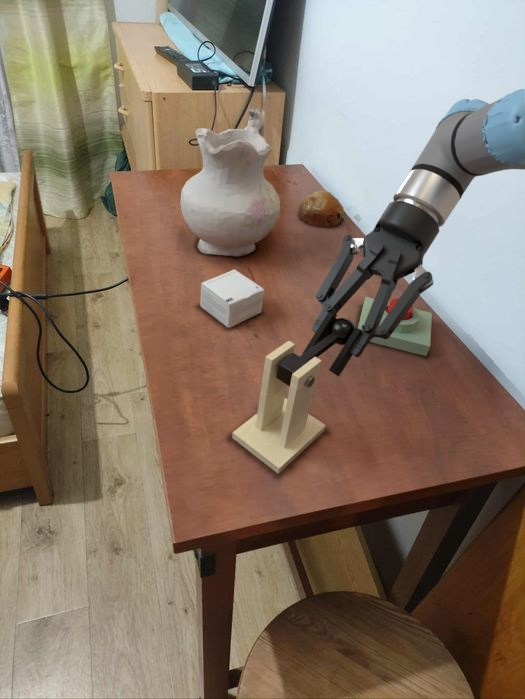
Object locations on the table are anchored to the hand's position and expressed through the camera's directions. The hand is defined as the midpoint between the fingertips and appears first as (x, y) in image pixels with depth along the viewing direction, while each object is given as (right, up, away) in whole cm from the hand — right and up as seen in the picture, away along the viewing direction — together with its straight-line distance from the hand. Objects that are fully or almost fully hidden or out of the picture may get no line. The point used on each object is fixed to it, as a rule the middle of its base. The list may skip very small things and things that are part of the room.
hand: (320, 364), depth 68 cm
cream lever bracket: (-6, -9, +1) cm, 11 cm away
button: (+15, +8, +19) cm, 26 cm away
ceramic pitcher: (-15, +25, +40) cm, 49 cm away
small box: (-13, +9, +21) cm, 27 cm away
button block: (+15, +5, +22) cm, 27 cm away
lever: (-1, +1, -2) cm, 2 cm away
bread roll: (+6, +33, +52) cm, 62 cm away
